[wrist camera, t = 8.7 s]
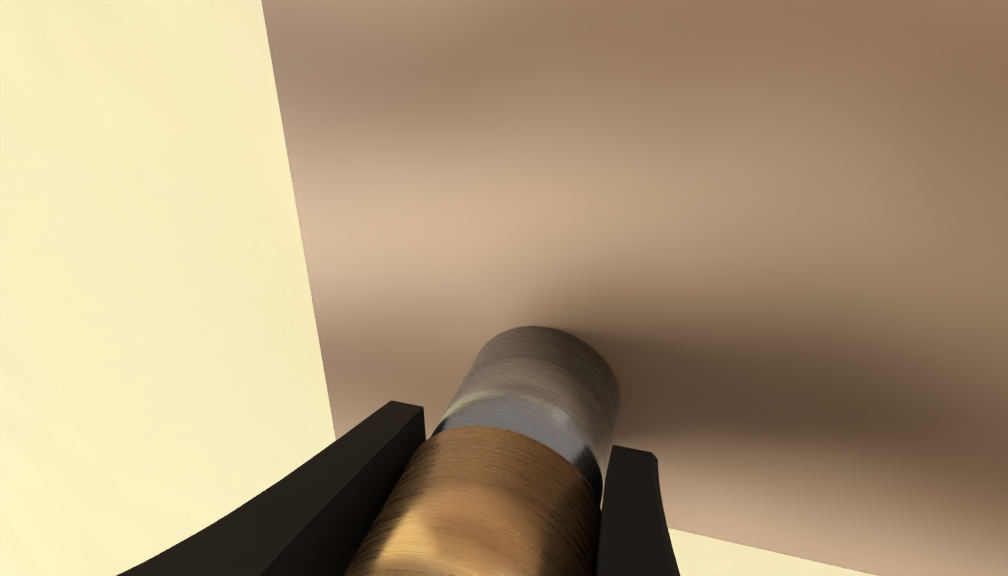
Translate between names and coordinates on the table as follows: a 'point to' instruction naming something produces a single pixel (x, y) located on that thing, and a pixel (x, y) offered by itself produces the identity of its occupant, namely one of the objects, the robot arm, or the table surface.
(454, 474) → the copper and grey cylinder
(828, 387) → the subfloor
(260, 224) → the table surface
